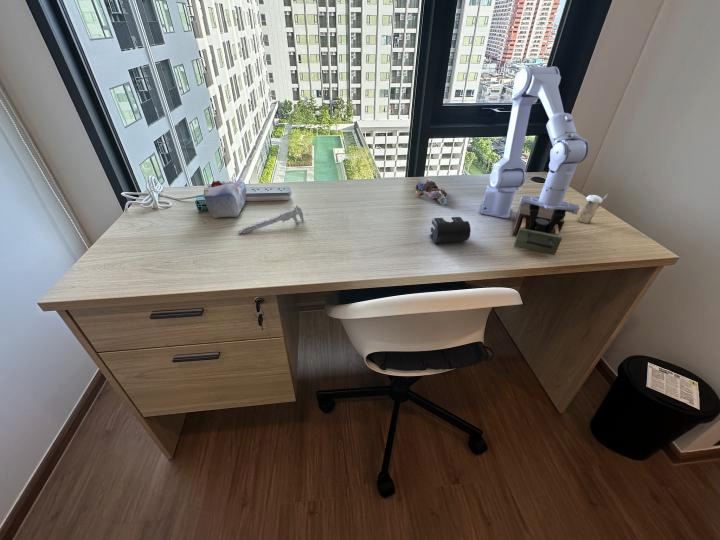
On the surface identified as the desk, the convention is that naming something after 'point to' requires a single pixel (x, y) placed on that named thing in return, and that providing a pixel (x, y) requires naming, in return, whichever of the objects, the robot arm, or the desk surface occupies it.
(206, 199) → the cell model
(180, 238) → the desk surface
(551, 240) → the drawer
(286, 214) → the caliper
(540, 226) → the cylinder
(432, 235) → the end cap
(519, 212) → the cabinet
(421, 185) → the warrior figurine
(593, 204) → the milkshake
